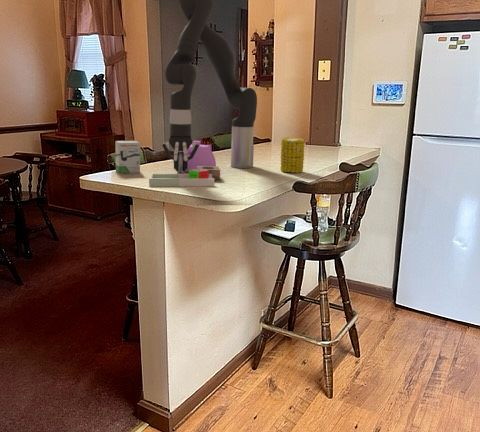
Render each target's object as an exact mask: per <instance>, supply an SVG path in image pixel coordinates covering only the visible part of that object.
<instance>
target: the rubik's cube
mask: <svg viewBox="0 0 480 432" xmlns="http://www.w3.org/2000/svg"><path fill="white" fill-rule="evenodd" d="M188 174H189V178H209V170H205V169H192V170H189V172H188Z"/></svg>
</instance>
